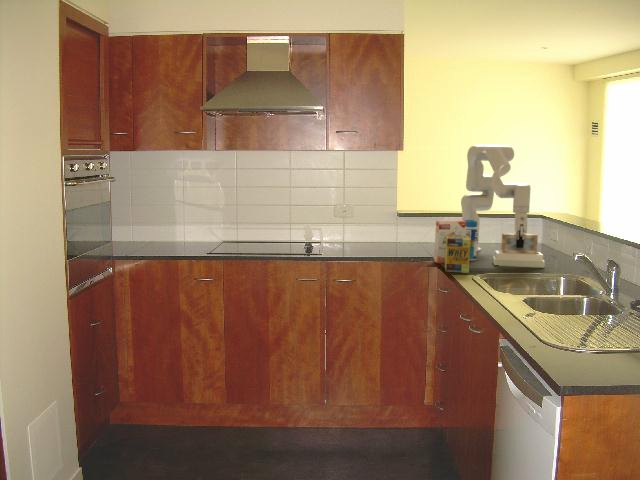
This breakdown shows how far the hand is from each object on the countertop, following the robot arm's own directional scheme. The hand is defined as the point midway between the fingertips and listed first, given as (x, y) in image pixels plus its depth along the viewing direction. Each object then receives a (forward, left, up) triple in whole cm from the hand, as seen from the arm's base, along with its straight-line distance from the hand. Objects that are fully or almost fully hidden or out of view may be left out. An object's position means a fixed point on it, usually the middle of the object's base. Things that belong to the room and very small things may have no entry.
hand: (519, 246), depth 296 cm
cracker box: (-33, -2, -9) cm, 34 cm away
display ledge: (0, 0, -9) cm, 9 cm away
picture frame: (0, 0, -3) cm, 3 cm away
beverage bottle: (-23, +10, -9) cm, 27 cm away
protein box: (-30, -20, -9) cm, 37 cm away
